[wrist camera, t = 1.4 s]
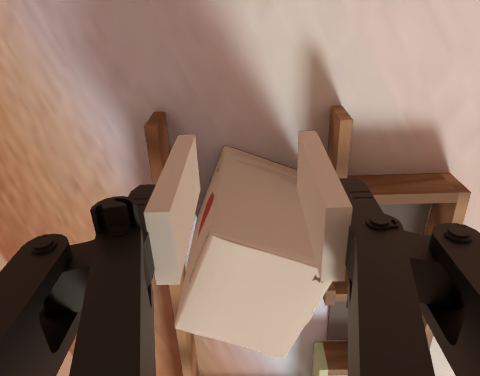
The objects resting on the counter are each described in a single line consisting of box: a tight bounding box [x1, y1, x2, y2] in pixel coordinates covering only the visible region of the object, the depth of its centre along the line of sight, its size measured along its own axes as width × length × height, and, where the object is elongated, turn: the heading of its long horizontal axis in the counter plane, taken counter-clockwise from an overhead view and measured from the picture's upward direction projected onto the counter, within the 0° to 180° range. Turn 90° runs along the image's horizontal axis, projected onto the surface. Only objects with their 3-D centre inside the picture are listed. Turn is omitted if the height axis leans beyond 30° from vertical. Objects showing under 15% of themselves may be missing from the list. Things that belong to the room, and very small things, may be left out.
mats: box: [327, 203, 430, 340], centre depth 44 cm, size 21×9×1 cm, turn 2°
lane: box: [144, 106, 471, 376], centre depth 43 cm, size 42×28×4 cm
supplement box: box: [175, 146, 332, 358], centre depth 33 cm, size 9×9×15 cm
